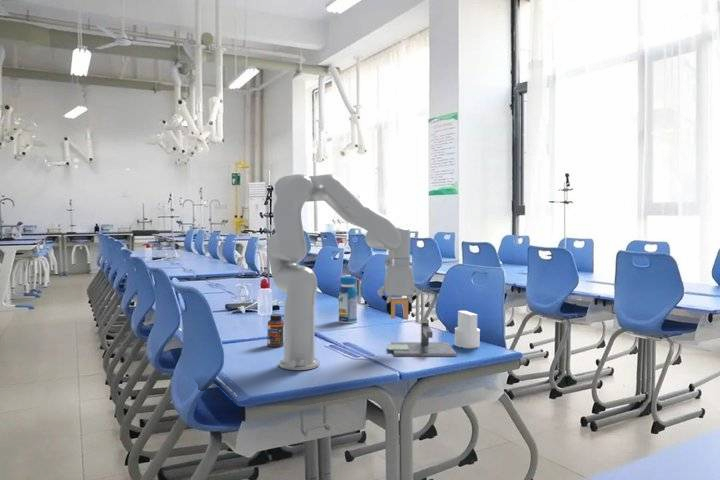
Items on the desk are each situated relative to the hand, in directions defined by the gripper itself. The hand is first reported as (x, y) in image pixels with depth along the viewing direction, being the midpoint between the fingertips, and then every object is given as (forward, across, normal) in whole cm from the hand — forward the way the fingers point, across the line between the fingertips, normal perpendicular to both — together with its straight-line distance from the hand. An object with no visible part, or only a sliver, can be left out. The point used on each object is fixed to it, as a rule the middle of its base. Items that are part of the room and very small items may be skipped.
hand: (399, 313), depth 194 cm
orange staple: (+1, 0, 0) cm, 1 cm away
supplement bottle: (+13, -44, +7) cm, 47 cm away
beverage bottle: (+13, -18, +51) cm, 56 cm away
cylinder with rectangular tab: (+14, +26, +8) cm, 30 cm away
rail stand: (+13, +7, 0) cm, 15 cm away
